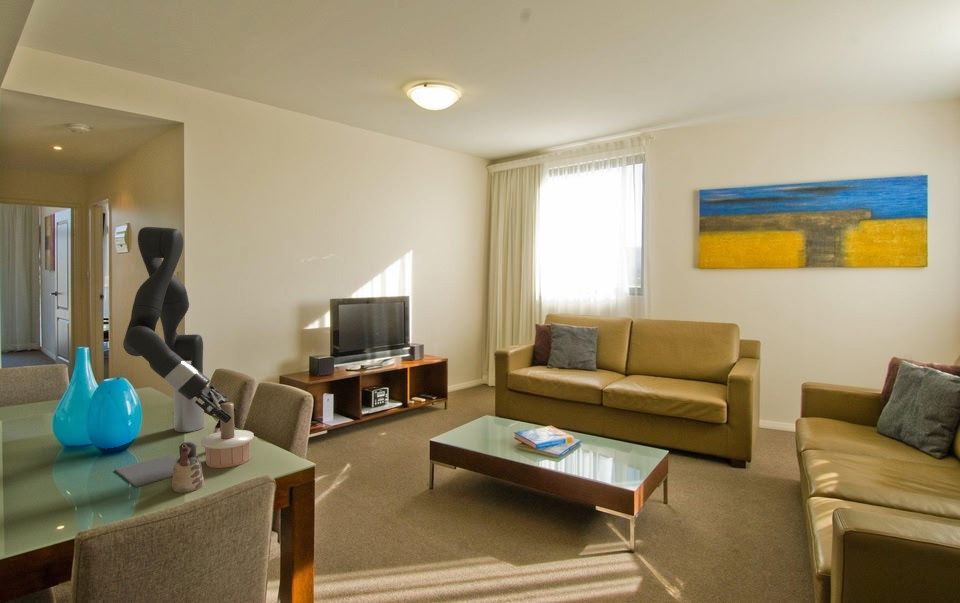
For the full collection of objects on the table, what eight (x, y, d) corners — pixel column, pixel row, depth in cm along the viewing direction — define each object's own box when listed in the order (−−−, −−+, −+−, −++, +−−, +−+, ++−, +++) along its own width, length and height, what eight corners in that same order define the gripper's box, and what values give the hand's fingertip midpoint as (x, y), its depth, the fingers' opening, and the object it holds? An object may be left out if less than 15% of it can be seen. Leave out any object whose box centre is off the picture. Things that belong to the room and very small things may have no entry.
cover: (192, 441, 153) (191, 404, 152) (240, 430, 163) (239, 395, 163) (213, 452, 144) (212, 413, 143) (262, 440, 154) (261, 403, 153)
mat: (115, 470, 146) (114, 468, 146) (169, 456, 157) (169, 455, 157) (135, 487, 135) (135, 485, 135) (193, 471, 146) (193, 469, 146)
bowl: (199, 461, 153) (198, 441, 153) (238, 450, 162) (238, 431, 162) (217, 471, 146) (216, 450, 145) (257, 459, 155) (256, 440, 154)
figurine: (208, 480, 139) (206, 436, 139) (197, 492, 132) (195, 446, 132) (179, 482, 139) (178, 437, 138) (167, 493, 132) (165, 447, 131)
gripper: (190, 375, 143) (237, 413, 147) (202, 365, 157) (245, 400, 161) (169, 395, 142) (217, 433, 146) (183, 384, 156) (226, 418, 160)
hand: (231, 416), depth 153 cm, fingers open, 8 cm apart
